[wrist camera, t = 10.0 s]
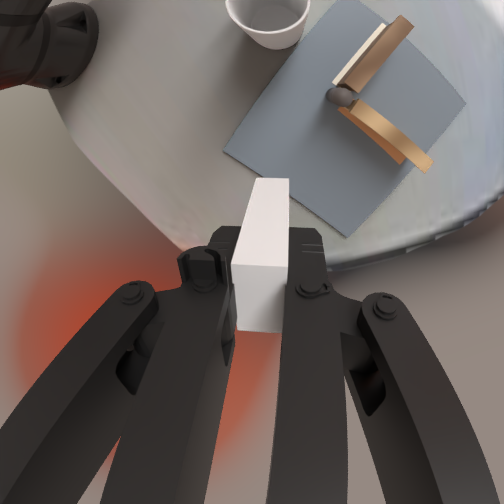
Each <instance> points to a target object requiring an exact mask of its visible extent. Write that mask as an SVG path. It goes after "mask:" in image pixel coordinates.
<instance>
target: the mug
mask: <svg viewBox="0 0 504 504" xmlns="http://www.w3.org/2000/svg"><path fill="white" fill-rule="evenodd" d="M225 3H226V9H227V12H228V14H229V16H230V17H231V18H232V20H233V21H234V22H235V23H236V24H237V25H238V26H239V27H240V28H241V29H243V30H244V31H245V32H246V33H247V34H248V35H249V36H250V37H252V38H253V39H254V40H255V41H256V42H257V43H259V44H260V45H262V46H263V47H266V48H269V49H276V50H278V49H285V48H288V47H290V46H292V45H294V44H295V43H296V42H297V41H298V40H299V39H300V37H301V35H302V32H303V30H304V26H305V23H306V19H307V16H308V12H309V8H310V0H225Z"/></svg>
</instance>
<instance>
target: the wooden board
mask: <svg viewBox="0 0 504 504" xmlns="http://www.w3.org/2000/svg"><path fill="white" fill-rule="evenodd" d="M344 108H345V109H347V110H348V111H349V112H350V113H351V114H352V115H354V116H355V117H357V118H358V119H359V120H361V121H362V122H363V123H365V124H366V125H367V126H369V127H370V128H371V129H373V130H374V131H375V132H377V133H378V134H379V135H380V136H382V137H383V138H384V139H385V140H387V141H388V142H389V143H390V144H392V145H393V146H394V147H395V148H396V149H398V150H399V151H400V152H401V153H402V154H403V155H405V156H406V157H407V158H408V159H409V160H410V161H411V162H412V163H414V164H415V165H416V166H417V167H418V168H419V169H420V170H421V171H422V172H423V173H426V171H427V170H428V169H429V167H430V166H431V165H432V163H433V162H434V161H432V160H431V159H430V158H429V157H428V156H427V155H426V154H425V153H424V152H423V151H422V150H421V149H420V148H419V147H418V146H417V145H416V144H415V143H413V142H412V141H411V140H410V139H409V138H408V137H407V136H406V135H404V134H403V133H402V132H401V131H400V130H399V129H397V128H396V127H395V126H394V125H393V124H391V123H390V122H389V121H388V120H387V119H385V118H384V117H383V116H382V115H380V114H379V113H378V112H376V111H375V110H374V109H373V108H371V107H370V106H369V105H367V104H366V103H364V102H363V101H362V100H360V99H357V100H353V101H352V103H351V104H350V105H349V106H347V107H344Z"/></svg>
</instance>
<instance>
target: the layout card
mask: <svg viewBox="0 0 504 504" xmlns="http://www.w3.org/2000/svg"><path fill="white" fill-rule="evenodd" d="M387 25H389V23H388V22H387V21H385V20H384V19H383V18H382V17H380V16H379V15H378V14H376V13H375V12H374V11H372V10H371V9H370V8H368V7H367V6H366V5H364V4H363V3H361V2H360V1H359V0H337V1H336V2H335V3H334V4H333V5H332V6H331V8H330V9H329V10H328V11H327V12H326V13H325V14H324V15H323V17H322V18H321V19H320V20H319V21H318V22H317V24H316V25H315V26H314V27H313V28H312V29H311V31H310V32H309V33H308V34H307V35H306V37H305V38H304V39H303V40H302V41H301V43H300V44H299V45H298V46H297V48H296V49H295V50H294V51H293V53H292V54H291V55H290V56H289V58H288V59H287V60H286V62H285V63H284V64H283V65H282V67H281V68H280V69H279V71H278V72H277V73H276V75H275V76H274V77H273V79H272V80H271V81H270V83H269V84H268V85H267V87H266V88H265V90H264V91H263V92H262V94H261V95H260V96H259V98H258V99H257V101H256V102H255V103H254V105H253V106H252V108H251V109H250V111H249V112H248V113H247V115H246V116H245V118H244V119H243V121H242V122H241V124H240V125H239V127H238V128H237V130H236V131H235V133H234V134H233V136H232V137H231V139H230V140H229V142H228V143H227V145H226V146H225V148H224V149H223V151H224V152H226V153H227V154H229V155H230V156H232V157H234V158H235V159H237V160H238V161H240V162H241V163H243V164H244V165H246V166H247V167H249V168H251V169H252V170H254V171H255V172H257V173H258V174H260V175H261V176H263V177H264V178H289V195H290V196H292V197H293V198H294V199H296V200H297V201H299V202H300V203H301V204H303V205H304V206H306V207H307V208H308V209H310V210H311V211H312V212H314V213H315V214H317V215H318V216H319V217H321V218H322V219H323V220H325V221H326V222H327V223H329V224H330V225H331V226H333V227H334V228H335V229H337V230H338V231H339V232H341V233H342V234H343V235H344V236H346V237H347V238H348V237H349V236H350V235H351V234H352V233H353V232H354V231H355V230H356V229H357V228H358V227H359V226H360V225H361V224H362V223H363V222H364V221H365V220H366V219H367V218H368V217H369V216H370V214H371V213H372V212H373V211H374V210H375V209H376V208H377V207H378V206H379V205H380V204H381V203H382V202H383V201H384V200H385V198H386V197H387V196H388V195H389V194H390V193H391V192H392V191H393V190H394V189H395V188H396V186H397V185H398V184H399V183H400V182H401V181H402V180H403V179H404V178H405V176H406V175H407V174H408V173H409V172H410V171H411V170H412V169H413V167H414V166H415V164H414V163H412V162H411V161H410V160H409V159H408V158H407V157H406V156H405V155H403V154H402V153H401V152H400V151H399V150H398V149H396V148H395V147H394V146H393V145H392V144H390V143H389V142H388V141H387V140H385V139H384V138H383V137H382V136H380V135H379V134H378V133H377V132H375V131H374V130H373V129H371V128H370V127H369V126H367V125H366V124H365V123H363V122H362V121H361V120H359V119H358V118H357V117H355V116H354V115H352V114H351V113H350V112H349V111H348V110H347V109H345V108H344V107H340V106H338V105H336V104H333V103H331V102H329V101H328V100H327V98H326V92H327V90H328V89H330V88H341V87H340V86H339V85H337V83H338V82H339V81H340V80H341V79H342V77H343V76H344V75H345V74H346V72H347V71H348V70H349V69H350V68H351V66H352V65H353V64H354V63H355V62H356V60H357V59H358V58H359V57H360V56H361V54H362V53H363V52H364V51H365V50H366V49H367V47H368V46H369V45H370V44H371V43H372V42H373V40H374V39H375V38H376V37H377V36H378V35H379V33H380V32H381V31H382V30H383V29H384V28H385V27H386V26H387ZM350 92H351V93H352V96H353V100H357V99H360V100H362V101H363V102H364V103H366V104H367V105H369V106H370V107H371V108H373V109H374V110H375V111H376V112H378V113H379V114H380V115H382V116H383V117H384V118H385V119H387V120H388V121H389V122H390V123H391V124H393V125H394V126H395V127H396V128H397V129H399V130H400V131H401V132H402V133H403V134H404V135H406V136H407V137H408V138H409V139H410V140H411V141H412V142H413V143H415V144H416V145H417V146H418V147H419V148H420V149H421V150H422V151H423V152H424V153H425V154H426V152H427V151H428V150H429V149H430V148H431V147H432V145H433V144H434V143H435V142H436V141H437V139H438V138H439V137H440V136H441V135H442V133H443V132H444V131H445V130H446V128H447V127H448V126H449V125H450V124H451V122H452V121H453V120H454V119H455V117H456V116H457V115H458V114H459V112H460V111H461V110H462V108H463V107H464V106H465V105H466V102H465V101H464V100H463V99H462V97H461V96H460V95H459V94H458V92H457V91H456V90H455V89H454V87H453V86H452V85H451V84H450V83H449V82H448V80H447V79H446V78H445V77H444V76H443V75H442V74H441V72H440V71H439V70H438V69H437V68H436V67H435V66H434V65H433V64H432V63H431V62H430V61H429V60H428V59H427V58H426V57H425V56H424V55H423V54H422V53H421V52H420V51H419V50H418V49H417V48H416V47H415V46H414V45H413V44H412V43H411V42H410V41H409V40H408V39H406V38H404V39H403V41H402V42H401V43H400V44H399V45H398V46H397V48H396V49H395V50H394V51H393V52H392V54H391V55H390V56H389V57H388V58H387V59H386V61H385V62H384V63H383V64H382V65H381V67H380V68H379V69H378V70H377V71H376V73H375V74H374V75H373V76H372V77H371V79H370V80H369V81H368V82H367V83H366V85H365V86H364V87H363V88H362V89H361V91H360V92H359V93H356V92H355V91H350Z"/></svg>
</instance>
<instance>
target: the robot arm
mask: <svg viewBox="0 0 504 504" xmlns="http://www.w3.org/2000/svg"><path fill="white" fill-rule="evenodd" d="M51 1H52V0H0V90H3V89H6V88H10V87H14V86H18V85H22V84H25V85H30V86H34V87H39V88H43V89H53V88H59V87H63V86H66V85H68V84H70V83H71V82H73V81H74V80H75V79H76V78H77V77H78V76H79V75H80V74H81V73H82V72H83V70H84V69H85V68H86V66H87V65H88V63H89V61H90V59H91V57H92V55H93V53H94V50H95V47H96V43H97V39H98V20H97V16H96V14H95V12H94V10H93V9H92V8H91V7H90V6H88V5H86V4H83V3H77V2H67V3H62V4H59V5H55V6H51V7H48V5H49V4H50V3H51ZM47 7H48V8H47ZM177 262H178V266H179V270H180V275H181V279H182V284H181V287H179V288H176V289H171V290H165V291H159V292H155V291H154V289H153V287H152V285H151V284H149V283H148V282H146V281H132V282H129V283H127V284H124V285H122V286H121V287H120V288H118V289H117V290H116V291H115V292H114V293H113V294H112V295H111V296H110V297H109V298H108V299H107V300H106V301H105V303H104V304H103V305H102V306H101V307H100V308H99V309H98V310H97V311H96V312H95V313H94V314H93V315H92V316H91V318H90V319H89V320H88V321H87V322H86V323H85V324H84V325H83V326H82V327H81V329H80V330H79V331H78V332H77V333H76V334H75V335H74V336H73V338H72V339H71V340H70V341H69V342H68V343H67V344H66V346H65V347H64V348H63V349H62V350H61V352H60V353H59V354H58V355H57V356H56V357H55V358H54V360H53V361H52V362H51V363H50V365H49V366H48V367H47V368H46V369H45V371H44V372H43V373H42V374H41V375H40V377H39V378H38V379H37V380H36V382H35V383H34V384H33V386H32V387H31V388H30V389H29V391H28V392H27V393H26V395H25V396H24V397H23V399H22V400H21V401H20V402H19V404H18V405H17V406H16V408H15V409H14V411H13V412H12V413H11V415H10V416H9V417H8V419H7V420H6V422H5V423H4V425H3V426H2V427H1V429H0V504H77V503H78V501H79V500H80V498H81V496H82V495H83V493H84V492H85V490H86V489H87V487H88V485H89V484H90V482H91V481H92V479H93V478H94V476H95V475H96V473H97V472H98V470H99V468H100V467H101V465H102V464H103V462H104V461H105V459H106V458H107V456H108V455H109V453H110V452H111V450H112V448H113V447H114V445H115V444H116V442H117V441H118V439H119V438H120V436H121V438H120V441H119V444H118V446H117V450H116V452H115V456H114V459H113V462H112V465H111V468H110V471H109V474H108V478H107V481H106V484H105V487H104V491H103V494H102V498H101V501H100V504H204V500H205V495H206V490H207V484H208V479H209V475H210V470H211V464H212V459H213V454H214V449H215V444H216V438H217V434H218V428H219V424H220V419H221V413H222V409H223V403H224V398H225V393H226V388H227V383H228V377H229V373H230V368H231V362H232V357H233V352H234V347H235V335H234V331H235V326H236V322H237V330H242V331H256V332H271V333H282V343H281V355H280V370H279V383H278V395H277V407H276V417H275V428H274V437H273V447H272V456H271V466H270V474H269V482H268V490H267V498H266V504H347V487H348V449H347V448H348V447H347V446H348V445H347V417H346V416H347V415H346V397H345V383H344V376H345V379H346V382H347V384H348V387H349V390H350V393H351V396H352V398H353V401H354V404H355V407H356V410H357V412H358V416H359V419H360V422H361V424H362V427H363V430H364V433H365V436H366V439H367V442H368V446H369V448H370V452H371V455H372V458H373V461H374V464H375V468H376V471H377V474H378V477H379V480H380V484H381V487H382V491H383V494H384V498H385V501H386V504H500V502H499V499H498V495H497V492H496V488H495V485H494V482H493V479H492V476H491V473H490V470H489V468H488V465H487V463H486V459H485V457H484V454H483V452H482V449H481V447H480V444H479V442H478V439H477V437H476V435H475V432H474V430H473V428H472V426H471V423H470V421H469V419H468V417H467V415H466V413H465V410H464V408H463V406H462V404H461V402H460V400H459V398H458V396H457V394H456V392H455V390H454V388H453V386H452V384H451V382H450V381H449V378H448V377H447V375H446V373H445V371H444V369H443V367H442V366H441V364H440V362H439V360H438V358H437V357H436V355H435V353H434V351H433V350H432V348H431V346H430V345H429V343H428V341H427V339H426V338H425V336H424V335H423V333H422V331H421V330H420V328H419V327H418V325H417V323H416V321H415V320H414V319H413V317H412V315H411V314H410V312H409V311H408V309H407V307H406V306H405V305H404V303H403V302H402V301H401V300H400V299H398V298H397V297H395V296H393V295H391V294H387V293H373V294H370V295H368V296H367V297H366V298H365V299H364V300H363V302H360V301H357V300H353V299H350V298H347V297H344V296H342V295H340V294H339V293H337V292H336V291H335V290H334V289H333V286H332V284H331V283H330V282H329V281H328V276H327V269H326V262H325V255H324V249H323V243H322V237H321V235H320V234H319V233H318V231H317V230H316V229H315V228H297V227H289V178H256V181H255V184H254V188H253V191H252V194H251V197H250V201H249V204H248V207H247V211H246V214H245V217H244V221H243V224H242V226H221V227H220V228H219V229H217V230H216V231H215V232H214V233H213V235H212V237H211V239H210V242H209V244H208V246H197V247H194V248H191V249H188V250H186V251H185V252H183V253H181V255H180V256H179V257H178V258H177Z"/></svg>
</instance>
